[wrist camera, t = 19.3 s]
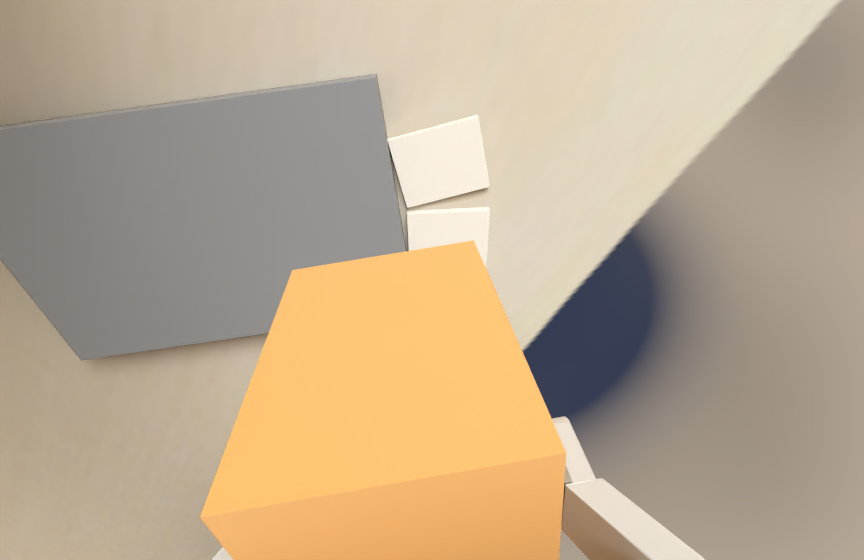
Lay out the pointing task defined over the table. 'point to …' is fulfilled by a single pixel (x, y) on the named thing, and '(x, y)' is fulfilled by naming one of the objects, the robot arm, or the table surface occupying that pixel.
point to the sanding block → (391, 423)
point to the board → (193, 210)
